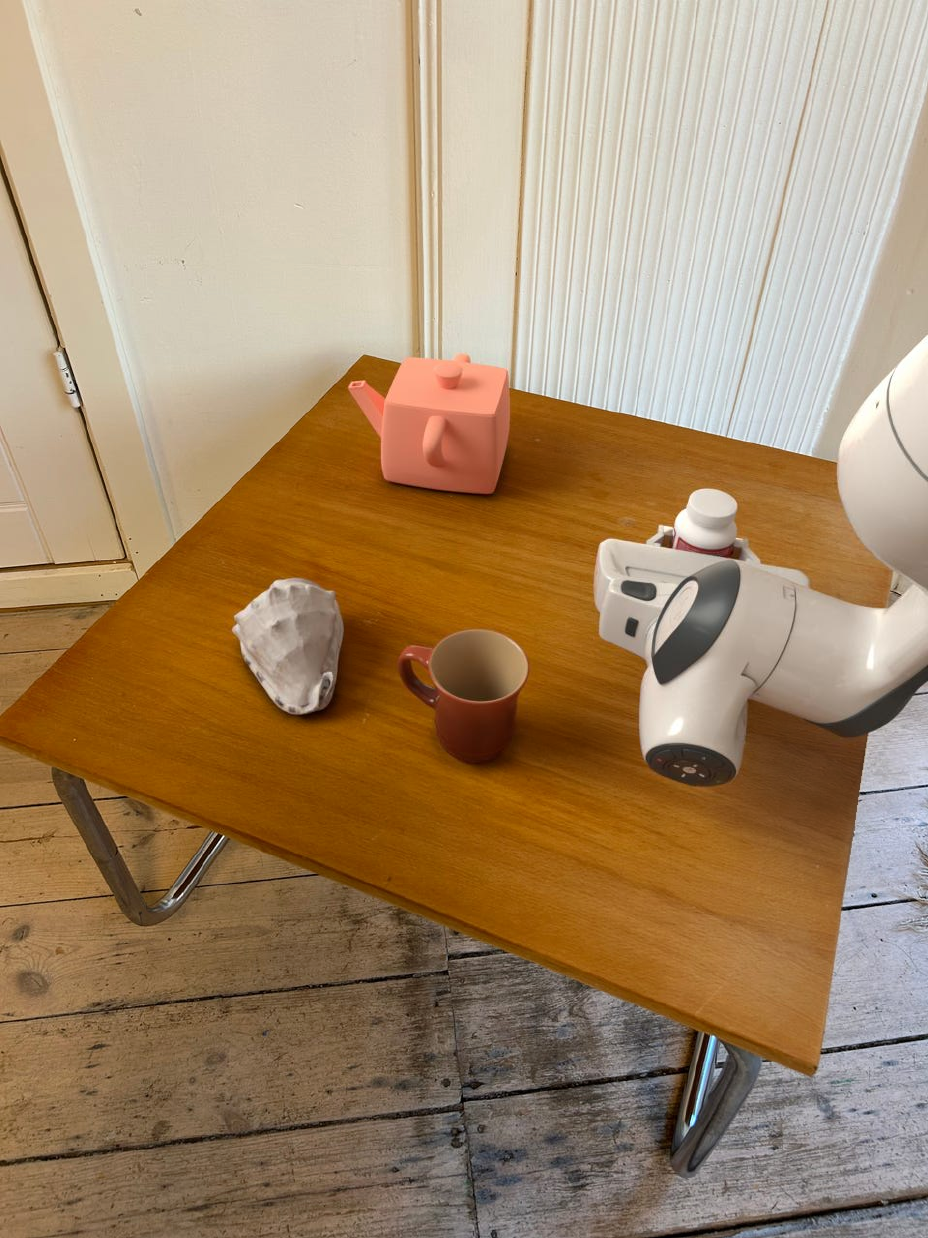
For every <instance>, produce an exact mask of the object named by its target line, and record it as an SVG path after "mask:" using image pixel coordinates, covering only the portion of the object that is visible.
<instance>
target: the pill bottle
mask: <svg viewBox="0 0 928 1238" xmlns="http://www.w3.org/2000/svg"><path fill="white" fill-rule="evenodd" d="M737 512H738V503H737V501H736V499H735V498H734V497H733V496H731V495H730V494H729V493H727V492H725V491H722V490H720V489H715V488H700V489H697V490H695V491H693V492H692V493H691V494H690V496H689V497H688V502H687V504H686V508H684V509H682V510H681V511H680V512H679V513H678V515H677V516H676V517H675V521H674V523H673V526H672V527H673V537H672V541H671V545H670V548H671V549H676V550H682V551H688V552H694V553H700V554H706V555H712V556H718V557H724V558H730V554H731V551H732V548H733V545H734V542H735V539H736V538H737V535H738V527H737V524H736V522H735V519H736V516H737Z"/></svg>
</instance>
